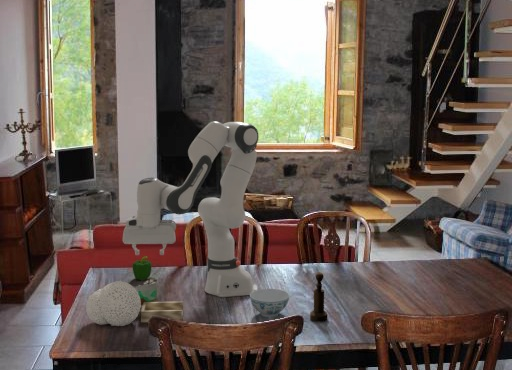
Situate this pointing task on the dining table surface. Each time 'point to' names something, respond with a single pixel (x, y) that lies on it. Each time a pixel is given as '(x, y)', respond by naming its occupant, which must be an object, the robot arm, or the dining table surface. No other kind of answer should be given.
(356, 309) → the dining table surface
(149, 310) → the wooden tray
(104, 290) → the white bumpy round lump
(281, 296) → the chinaware
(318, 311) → the pepper mill
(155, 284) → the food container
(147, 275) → the bell pepper
